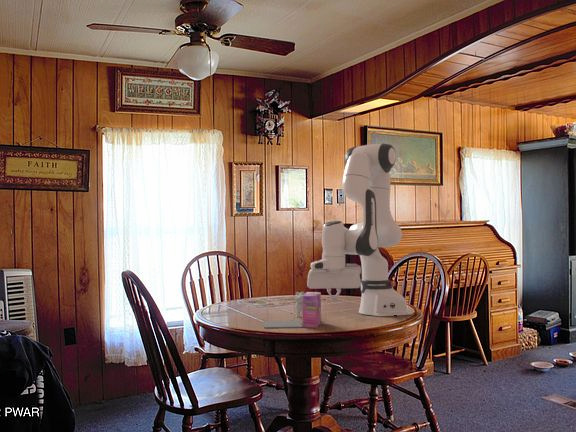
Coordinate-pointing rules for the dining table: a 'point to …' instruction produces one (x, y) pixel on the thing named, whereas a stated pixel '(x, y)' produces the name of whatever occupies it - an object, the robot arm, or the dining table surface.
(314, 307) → the box
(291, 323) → the mat
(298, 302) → the dog figurine
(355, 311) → the dining table surface
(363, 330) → the dining table surface
